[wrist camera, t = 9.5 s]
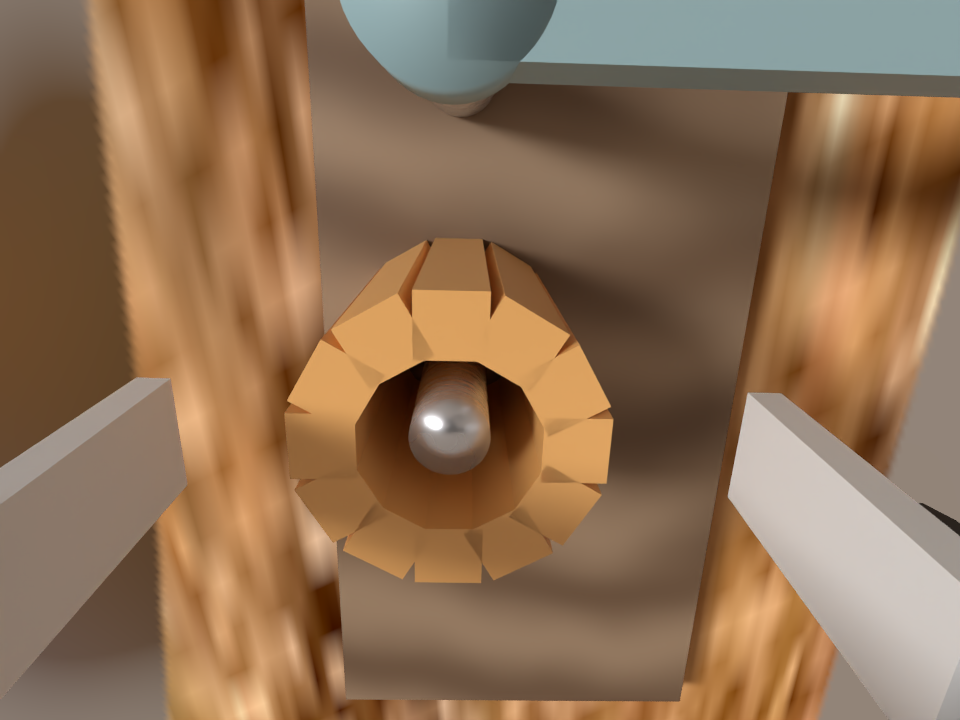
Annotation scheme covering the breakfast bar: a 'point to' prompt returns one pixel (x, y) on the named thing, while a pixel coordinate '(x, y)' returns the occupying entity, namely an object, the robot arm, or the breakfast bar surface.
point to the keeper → (664, 45)
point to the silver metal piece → (452, 395)
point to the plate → (596, 326)
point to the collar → (390, 404)
